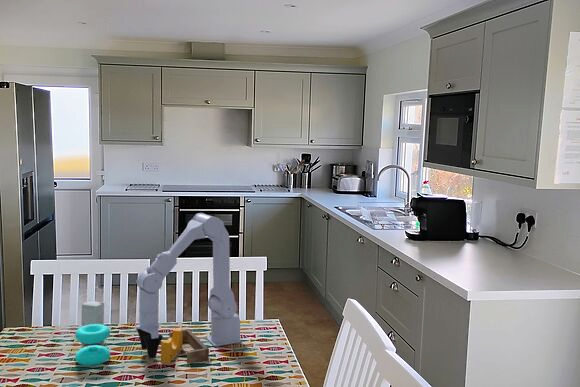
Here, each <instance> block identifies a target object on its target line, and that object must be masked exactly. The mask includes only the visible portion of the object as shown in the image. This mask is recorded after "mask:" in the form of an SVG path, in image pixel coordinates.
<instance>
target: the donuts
mask: <svg viewBox="0 0 580 387" xmlns="http://www.w3.org/2000/svg"><path fill="white" fill-rule="evenodd" d="M110 335H111V329H110V327H109V326H107V325H105V324H104V325H102V324H90V325H85V326H82V327H79V328H77V329H76V331H75V332H74V337H75V339H76V340H77V341H78V342H80V343H83V344H92V345H88V346H84V347H82V348H80V349H78V351H77V352H76V354H75V357H74V358H75V361H76V363H78V364H79V365H82V366H86V367H87V366H92V367H93V366H98V365H101V364H103V363H106V362H107V361H108V360H109V359H110V356H111V352H110V349H109V348H108V347H106V346H104V345H98V344H99V343H101V342H103V341H105V340H106V339H108V338H109V336H110ZM97 343H98V344H97ZM94 344H95V345H94Z"/></svg>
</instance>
